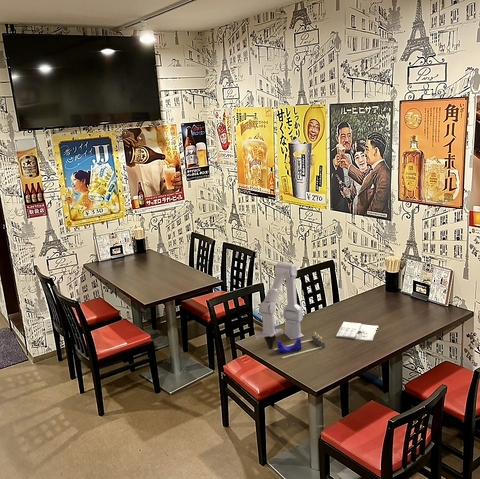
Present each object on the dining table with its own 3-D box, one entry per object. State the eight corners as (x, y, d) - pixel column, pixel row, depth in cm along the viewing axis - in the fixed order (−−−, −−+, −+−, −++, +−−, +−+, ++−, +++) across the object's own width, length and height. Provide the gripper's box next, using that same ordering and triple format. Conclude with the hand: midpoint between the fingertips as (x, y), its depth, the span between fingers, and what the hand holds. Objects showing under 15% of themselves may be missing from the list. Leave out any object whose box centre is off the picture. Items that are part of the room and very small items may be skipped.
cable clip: (279, 354, 257) (278, 343, 256) (278, 350, 262) (277, 339, 260) (302, 351, 258) (301, 341, 256) (300, 347, 262) (299, 337, 260)
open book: (344, 323, 286) (344, 320, 285) (379, 327, 277) (379, 324, 276) (335, 338, 270) (335, 334, 269) (372, 343, 261) (372, 339, 260)
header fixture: (273, 349, 262) (273, 341, 260) (314, 339, 269) (314, 330, 268) (282, 358, 252) (281, 350, 250) (324, 347, 259) (324, 338, 258)
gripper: (258, 330, 245) (260, 355, 248) (284, 324, 249) (286, 348, 253) (253, 325, 251) (255, 349, 255) (278, 319, 256) (280, 342, 259)
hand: (270, 348), depth 254 cm, fingers closed
